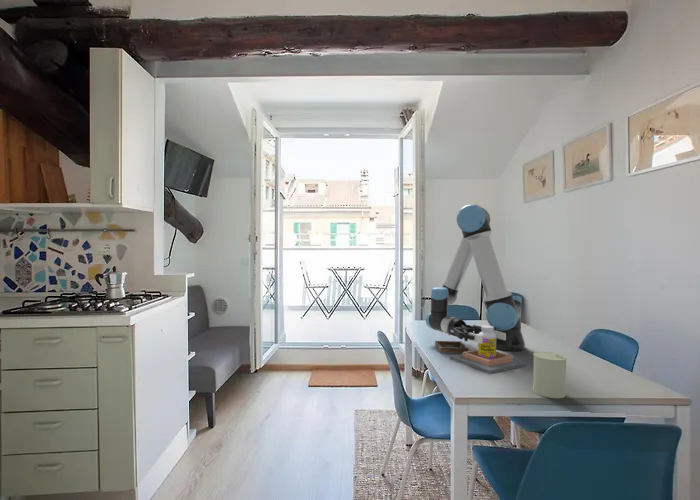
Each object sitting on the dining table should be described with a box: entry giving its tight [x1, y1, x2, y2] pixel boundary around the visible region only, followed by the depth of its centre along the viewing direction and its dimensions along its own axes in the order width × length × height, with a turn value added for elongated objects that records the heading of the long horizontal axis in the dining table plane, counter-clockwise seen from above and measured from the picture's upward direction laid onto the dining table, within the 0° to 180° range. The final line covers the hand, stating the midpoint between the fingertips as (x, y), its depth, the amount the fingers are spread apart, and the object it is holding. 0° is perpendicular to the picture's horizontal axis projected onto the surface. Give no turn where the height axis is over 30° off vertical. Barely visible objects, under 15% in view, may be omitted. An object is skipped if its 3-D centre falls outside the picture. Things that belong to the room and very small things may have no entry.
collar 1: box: [434, 340, 469, 354], centre depth 168 cm, size 12×12×2 cm
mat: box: [449, 353, 527, 374], centre depth 150 cm, size 20×20×1 cm
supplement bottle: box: [477, 324, 497, 360], centre depth 150 cm, size 7×7×13 cm
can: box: [532, 351, 567, 399], centre depth 120 cm, size 9×9×12 cm
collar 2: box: [462, 349, 514, 366], centre depth 150 cm, size 13×13×2 cm
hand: (493, 338), depth 147 cm, fingers open, 12 cm apart
